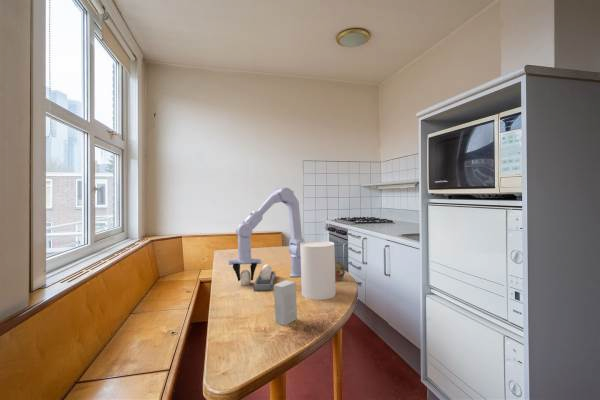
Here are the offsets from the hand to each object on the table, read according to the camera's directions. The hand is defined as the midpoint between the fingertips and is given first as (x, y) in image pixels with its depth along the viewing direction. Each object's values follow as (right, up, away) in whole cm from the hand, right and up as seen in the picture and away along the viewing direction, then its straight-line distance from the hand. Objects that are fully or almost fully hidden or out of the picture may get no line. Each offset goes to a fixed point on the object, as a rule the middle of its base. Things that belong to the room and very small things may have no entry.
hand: (245, 280), depth 130 cm
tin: (+38, -1, +2) cm, 38 cm away
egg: (0, -2, 0) cm, 2 cm away
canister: (+32, -1, -16) cm, 36 cm away
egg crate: (+9, -1, 0) cm, 9 cm away
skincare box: (+20, -2, -40) cm, 45 cm away
